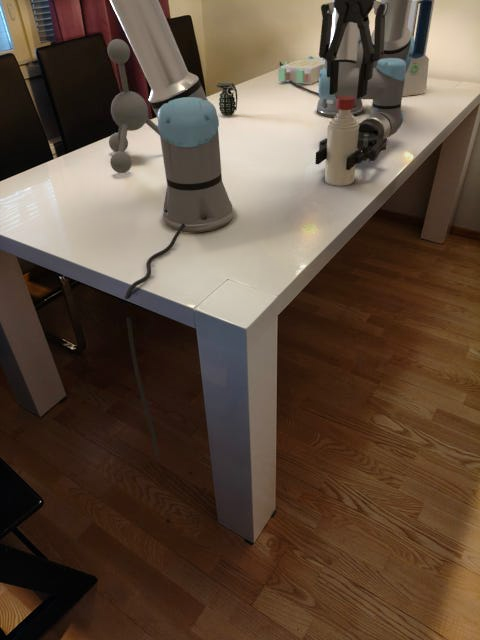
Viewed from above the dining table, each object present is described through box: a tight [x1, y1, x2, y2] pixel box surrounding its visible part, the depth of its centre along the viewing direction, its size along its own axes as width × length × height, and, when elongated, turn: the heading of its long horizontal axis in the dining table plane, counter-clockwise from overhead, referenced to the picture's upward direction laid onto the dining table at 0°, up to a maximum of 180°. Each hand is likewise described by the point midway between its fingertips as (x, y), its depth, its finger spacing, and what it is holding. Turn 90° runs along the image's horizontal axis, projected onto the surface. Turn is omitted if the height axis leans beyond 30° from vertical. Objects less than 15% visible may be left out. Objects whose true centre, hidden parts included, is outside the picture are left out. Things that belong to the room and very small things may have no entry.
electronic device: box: [402, 0, 435, 97], centre depth 172 cm, size 12×8×30 cm, turn 105°
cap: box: [336, 96, 355, 110], centre depth 109 cm, size 4×4×2 cm
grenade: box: [215, 82, 238, 117], centre depth 166 cm, size 7×6×10 cm
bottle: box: [324, 110, 360, 187], centre depth 115 cm, size 7×7×19 cm
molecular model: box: [107, 38, 160, 174], centre depth 130 cm, size 24×22×30 cm
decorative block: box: [277, 55, 325, 85], centre depth 206 cm, size 26×6×20 cm
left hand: (347, 94), depth 108 cm, fingers open, 6 cm apart
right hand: (332, 161), depth 113 cm, fingers closed on bottle, 7 cm apart
